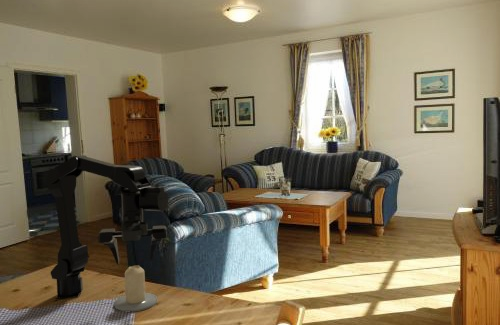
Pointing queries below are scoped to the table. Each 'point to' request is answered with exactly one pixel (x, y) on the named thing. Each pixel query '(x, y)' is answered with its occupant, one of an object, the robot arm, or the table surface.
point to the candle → (134, 285)
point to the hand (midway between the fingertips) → (134, 263)
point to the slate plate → (147, 303)
